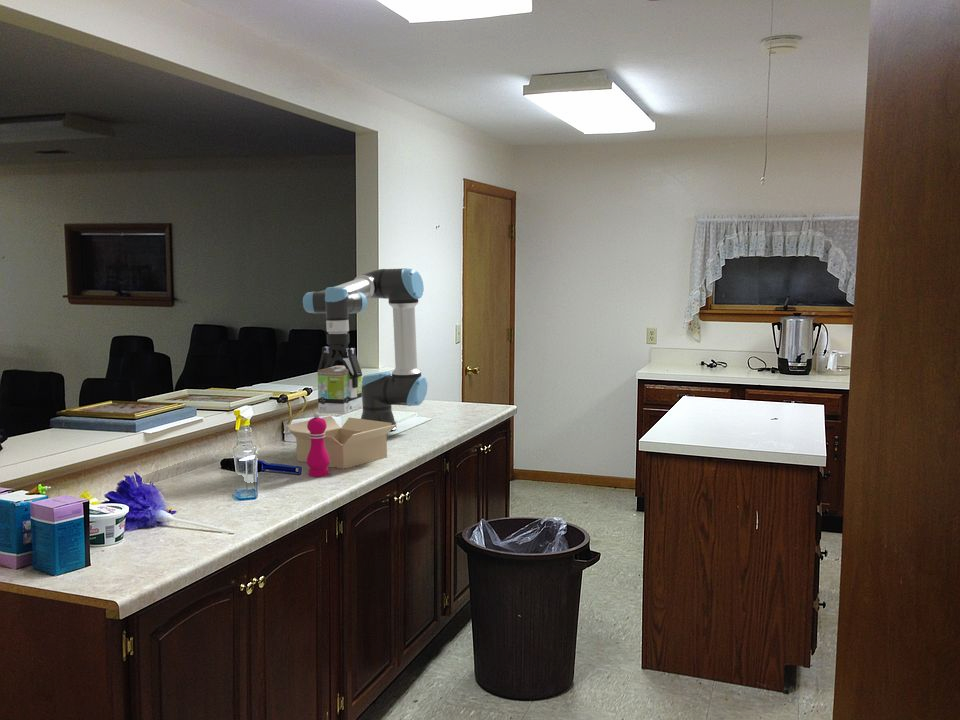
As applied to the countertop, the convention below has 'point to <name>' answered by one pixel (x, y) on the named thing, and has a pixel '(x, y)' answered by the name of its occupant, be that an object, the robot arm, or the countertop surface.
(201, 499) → the countertop surface
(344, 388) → the tea box
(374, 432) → the carton
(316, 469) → the pepper mill
